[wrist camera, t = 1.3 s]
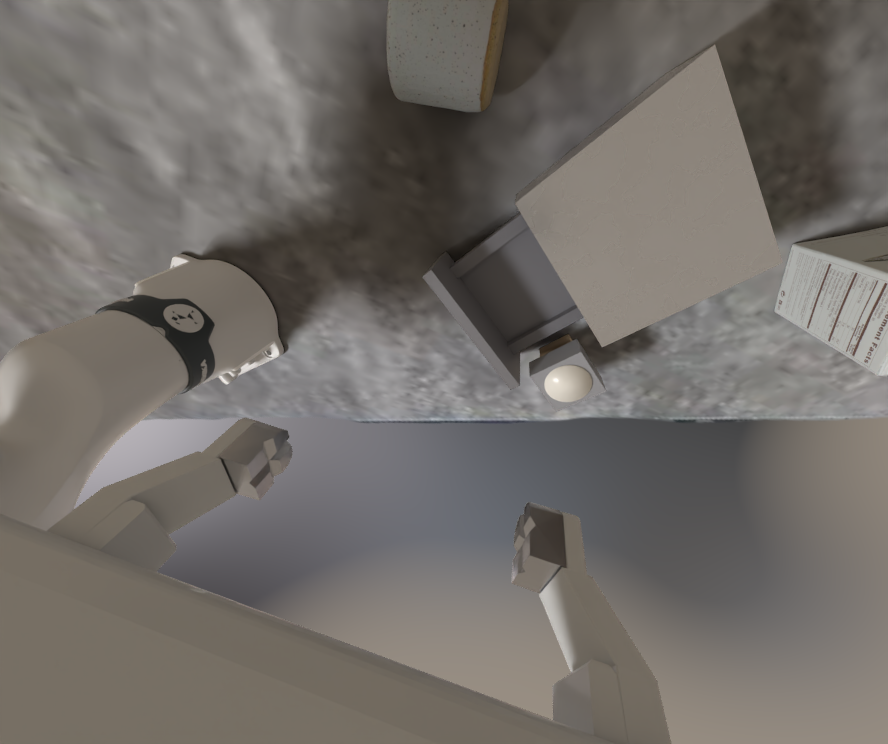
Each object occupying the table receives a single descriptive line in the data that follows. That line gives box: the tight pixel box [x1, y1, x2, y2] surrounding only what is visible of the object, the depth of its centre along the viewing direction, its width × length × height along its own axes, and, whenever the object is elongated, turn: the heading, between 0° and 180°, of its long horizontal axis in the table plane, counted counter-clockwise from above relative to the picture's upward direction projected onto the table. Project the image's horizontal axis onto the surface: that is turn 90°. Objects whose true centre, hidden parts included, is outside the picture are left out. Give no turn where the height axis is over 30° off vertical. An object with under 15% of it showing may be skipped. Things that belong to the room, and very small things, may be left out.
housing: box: [515, 45, 783, 347], centre depth 28 cm, size 14×16×8 cm
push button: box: [529, 339, 606, 412], centre depth 37 cm, size 6×6×3 cm
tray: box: [422, 213, 584, 390], centre depth 34 cm, size 15×16×8 cm
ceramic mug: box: [387, 0, 509, 112], centre depth 24 cm, size 11×8×8 cm
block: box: [540, 334, 573, 357], centre depth 39 cm, size 4×4×4 cm
